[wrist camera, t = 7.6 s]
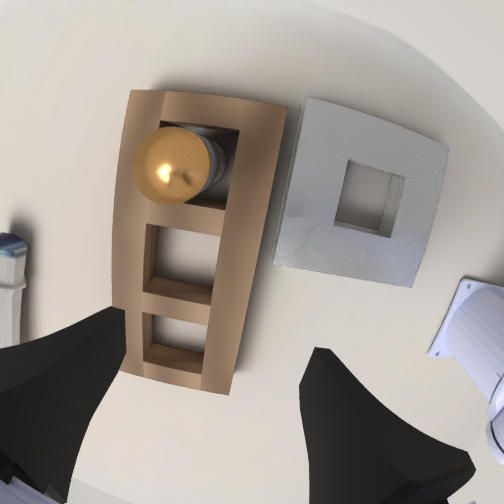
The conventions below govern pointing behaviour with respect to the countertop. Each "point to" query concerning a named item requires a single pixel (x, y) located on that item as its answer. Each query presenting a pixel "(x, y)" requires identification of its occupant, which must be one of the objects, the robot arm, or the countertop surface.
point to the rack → (197, 220)
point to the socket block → (330, 186)
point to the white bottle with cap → (11, 287)
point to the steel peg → (176, 165)
